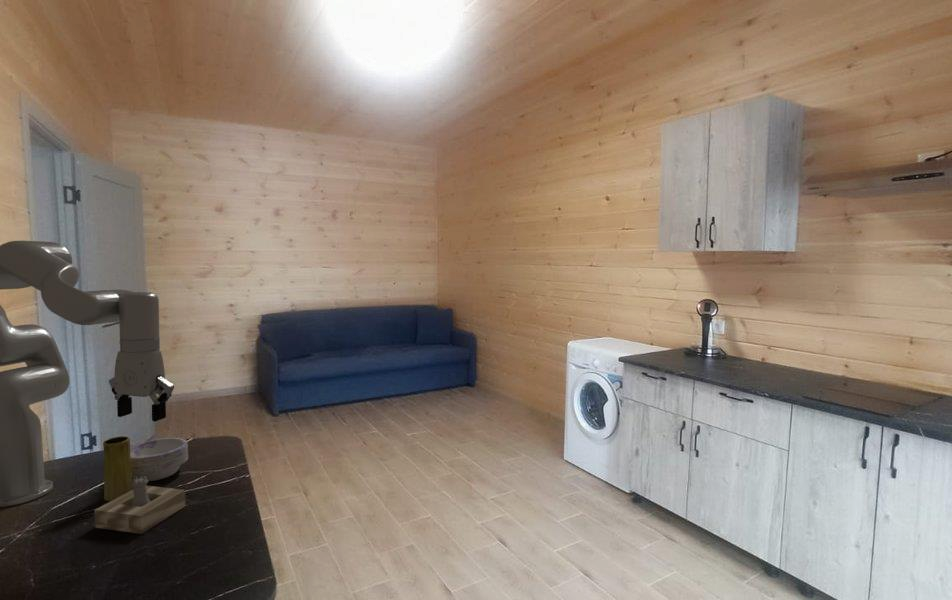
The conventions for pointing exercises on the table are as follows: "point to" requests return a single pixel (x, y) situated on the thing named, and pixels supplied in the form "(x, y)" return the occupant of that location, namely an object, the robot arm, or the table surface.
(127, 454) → the vase
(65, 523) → the table surface
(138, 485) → the rook chess piece
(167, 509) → the socket block
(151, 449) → the paper bowls
